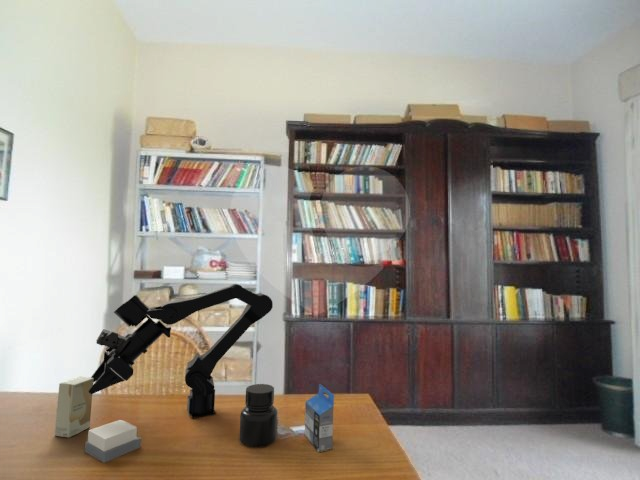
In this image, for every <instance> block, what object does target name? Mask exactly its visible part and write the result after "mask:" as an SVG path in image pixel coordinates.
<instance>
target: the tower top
mask: <svg viewBox="0 0 640 480" xmlns="http://www.w3.org/2000/svg"><path fill="white" fill-rule="evenodd" d="M137 434H138V427H137V426H135V425H133V424H132V423H129V422H127V421H124V420H122V419H118V420H115V421H112V422H109V423H106V424H103V425H100V426H96V427H93V428H91V429H89V430H88V434H87V435H88V436H87V441H88V442H89V443H90V444H92V445H94V446H95V447H97V448H99V449H101V450H102V451H107V450H109V449H112V448H115V447H117V446H120V445H122V444H125V443H127V442H130V441H132V440H135V439H136V438H137V436H138V435H137Z"/></svg>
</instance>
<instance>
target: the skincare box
mask: <svg viewBox="0 0 640 480" xmlns="http://www.w3.org/2000/svg"><path fill="white" fill-rule="evenodd" d="M93 380H94V378H91V377H87V376H78V377H76V378H72V379H71V378H70V379H68V380H66V381H63V382H60V383H59V385H58V392H57V393H58V395H57V406H56V407H57V408H56V416H55V427H54V436H55V437H56V436H57V437H61V438H62V437H63V438H71V437H73V436H75V435H77V434H80V433H81V432H83V431H84V430H87V429H89V428H90V427H91V415H92V403H93V394H90V393H89V392H88V391H89V390H90V388H91V387H92V386H93V385H94V382H93Z"/></svg>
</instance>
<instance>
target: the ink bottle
mask: <svg viewBox="0 0 640 480" xmlns="http://www.w3.org/2000/svg"><path fill="white" fill-rule="evenodd" d="M274 398H275V386H273V385H270V384H268V383H267V384H265V383H256V384H250V385H248V386H246V389H245V407H244V408H243V409H241V411H240V416H239V418H240V419H239V437H238V438H239V442H240V443H241V444H242V445H244V446H247V447H250V448H264V447H267V446H270V445H271V444H273V443H275V441H276V440H277V437H278V423H279V422H278V420H279V417H278V415H279V414H278V410H277V408H276V406H274V404H275V403H274V400H275V399H274Z"/></svg>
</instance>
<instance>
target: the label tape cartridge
mask: <svg viewBox="0 0 640 480" xmlns="http://www.w3.org/2000/svg"><path fill="white" fill-rule="evenodd" d="M324 393H325V394H326V395H327V396H328V397H327V396H326V395H325V394H324ZM304 403H305V405H304V406H305V407H304V409H305V412H304V436H305V437H307V438H306V439H307V440H308V441H309V442H310V443H311V445H312V446H313V448H314V449H316V451H317V452H318V453H322V452H321V451H324V450H328V451H330V450H329V449H332V450H333V436H334V435H333V434H334V406H335V405H334V404H335V394H334V393H333V392H331V391H330V390H328V389H327V388H326V387H325V386H323V385H322V384H321V383H319V385H318V392H317V393H316V394H315V395H314V396H312V397H311V398H308V399H307V400H306V401H305V402H304ZM324 452H325V451H324Z"/></svg>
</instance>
